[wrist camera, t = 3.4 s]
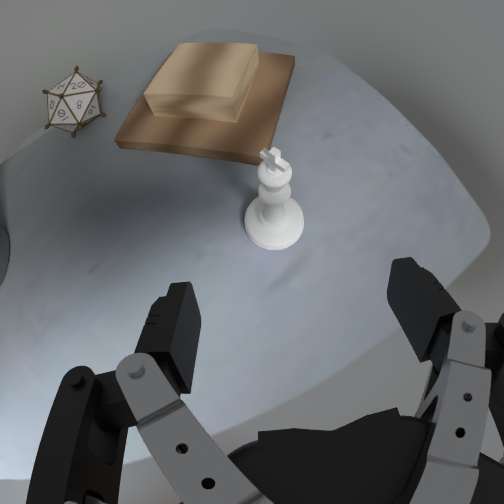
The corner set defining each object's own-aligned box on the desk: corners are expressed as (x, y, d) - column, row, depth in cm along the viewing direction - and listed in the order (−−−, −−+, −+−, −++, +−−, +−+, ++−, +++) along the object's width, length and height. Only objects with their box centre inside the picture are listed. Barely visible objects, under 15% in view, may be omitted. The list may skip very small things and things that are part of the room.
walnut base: (120, 148, 27) (99, 120, 22) (176, 58, 31) (166, 31, 26) (264, 166, 25) (262, 132, 20) (294, 65, 29) (295, 33, 24)
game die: (105, 125, 33) (112, 59, 27) (105, 148, 28) (111, 67, 22) (48, 131, 29) (49, 64, 22) (36, 156, 24) (34, 75, 18)
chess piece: (270, 184, 25) (267, 104, 15) (315, 218, 23) (340, 148, 14) (232, 225, 24) (207, 158, 14) (278, 262, 23) (282, 213, 13)
